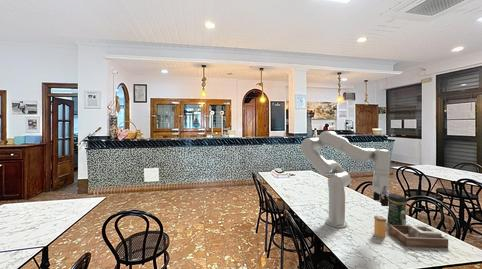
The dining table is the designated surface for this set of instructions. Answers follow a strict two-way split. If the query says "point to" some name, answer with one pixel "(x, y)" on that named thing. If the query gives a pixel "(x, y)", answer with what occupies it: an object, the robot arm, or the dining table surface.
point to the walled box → (418, 236)
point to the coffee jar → (397, 209)
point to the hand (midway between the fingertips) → (380, 202)
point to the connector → (380, 226)
